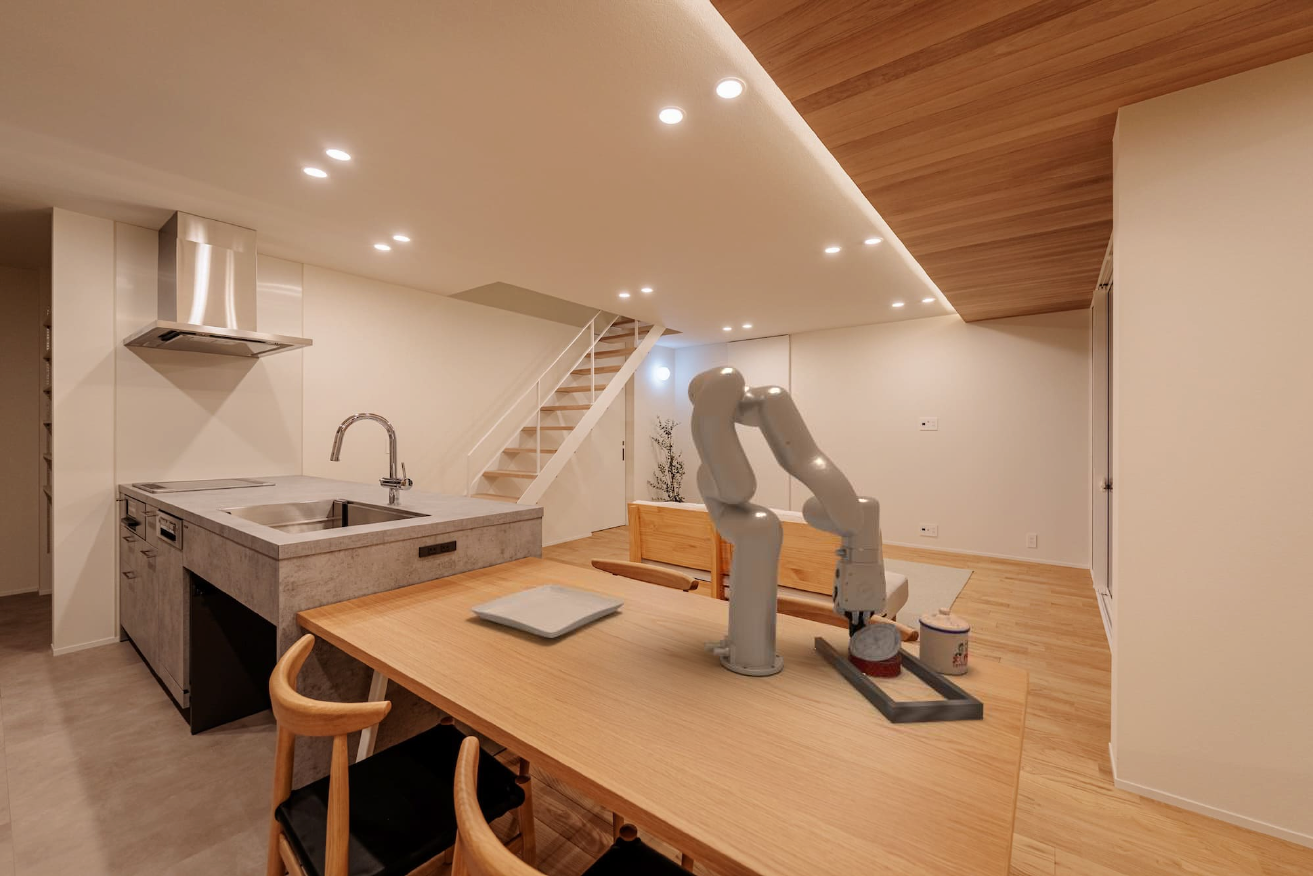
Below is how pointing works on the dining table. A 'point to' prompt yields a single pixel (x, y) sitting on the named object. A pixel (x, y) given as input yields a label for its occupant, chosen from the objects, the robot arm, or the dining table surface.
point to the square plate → (548, 609)
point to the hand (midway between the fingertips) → (857, 640)
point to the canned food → (876, 650)
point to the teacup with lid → (944, 642)
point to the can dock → (916, 711)
